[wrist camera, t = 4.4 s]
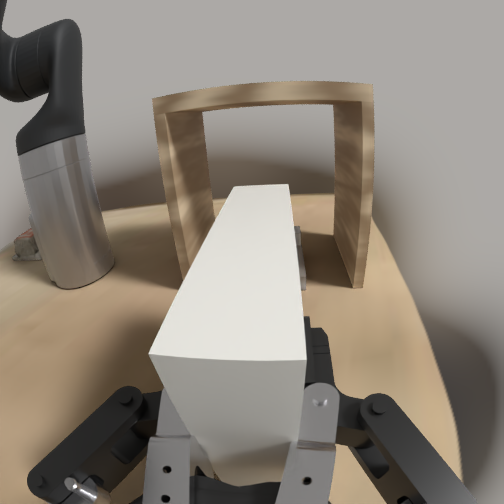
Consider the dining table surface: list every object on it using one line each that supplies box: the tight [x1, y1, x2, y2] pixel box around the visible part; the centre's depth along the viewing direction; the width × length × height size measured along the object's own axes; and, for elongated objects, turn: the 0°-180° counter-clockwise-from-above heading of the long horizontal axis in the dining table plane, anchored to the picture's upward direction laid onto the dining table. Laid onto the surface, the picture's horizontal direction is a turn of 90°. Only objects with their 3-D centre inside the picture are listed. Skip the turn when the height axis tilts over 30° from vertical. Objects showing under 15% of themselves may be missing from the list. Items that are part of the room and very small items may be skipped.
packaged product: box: [12, 228, 42, 261], centre depth 45 cm, size 18×5×10 cm
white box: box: [148, 184, 307, 486], centre depth 13 cm, size 3×12×12 cm, turn 175°
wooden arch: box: [152, 81, 374, 290], centre depth 28 cm, size 18×12×18 cm
